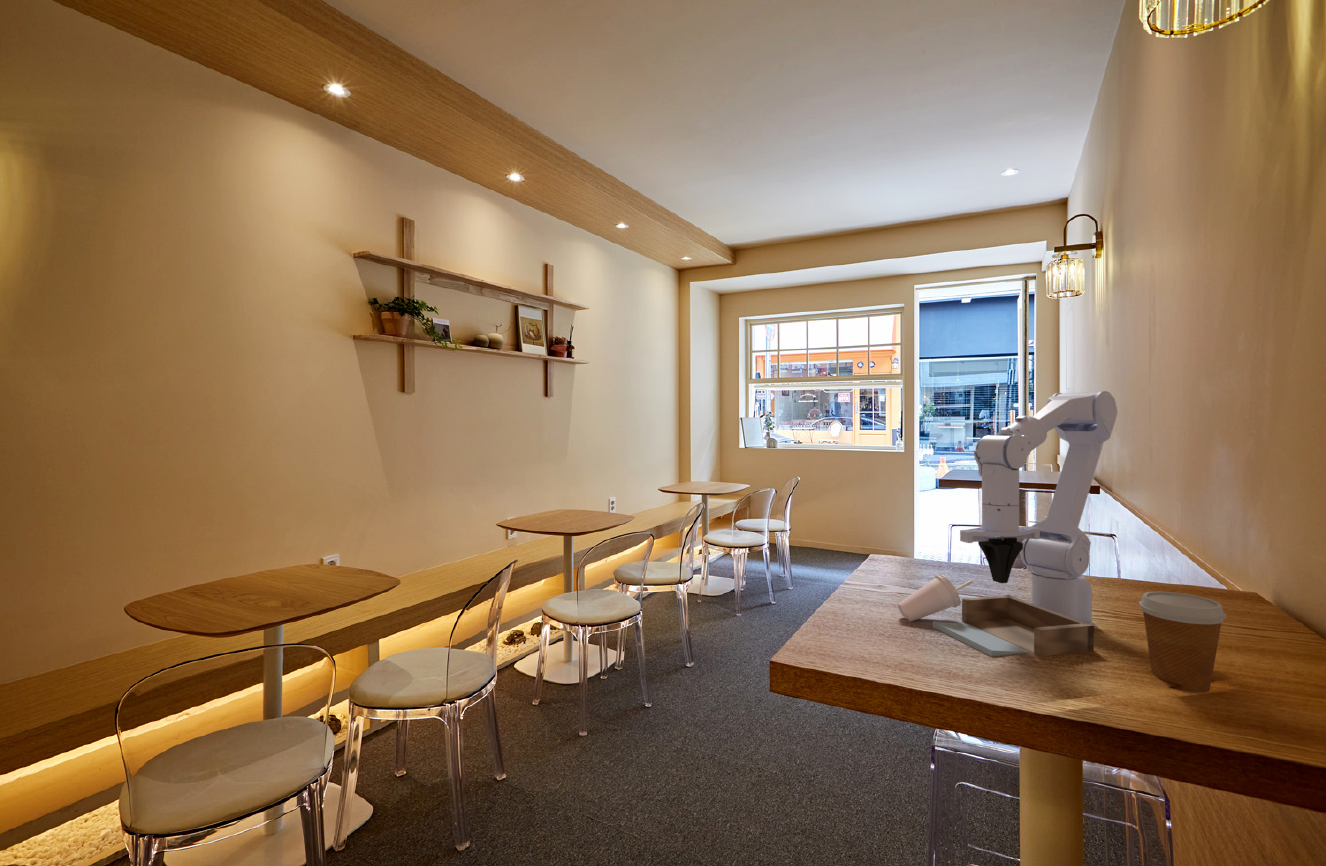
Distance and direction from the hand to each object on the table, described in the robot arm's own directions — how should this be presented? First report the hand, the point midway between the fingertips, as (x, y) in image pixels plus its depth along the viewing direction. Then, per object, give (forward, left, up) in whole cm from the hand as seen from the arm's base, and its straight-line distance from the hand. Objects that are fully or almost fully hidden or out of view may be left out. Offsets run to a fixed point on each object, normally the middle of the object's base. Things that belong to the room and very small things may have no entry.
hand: (1000, 581), depth 109 cm
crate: (-2, +3, -9) cm, 10 cm away
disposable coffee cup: (-10, +23, -10) cm, 27 cm away
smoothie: (+13, -9, -7) cm, 17 cm away
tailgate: (+3, +3, -8) cm, 10 cm away
